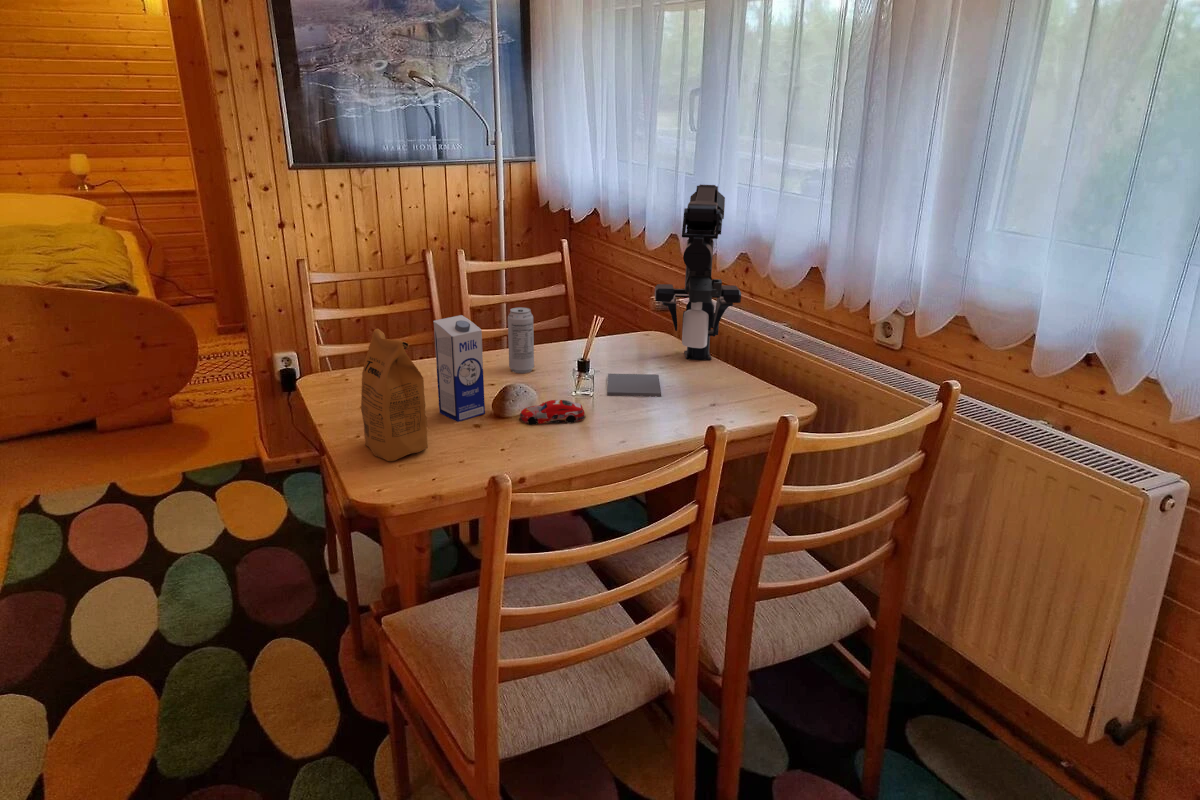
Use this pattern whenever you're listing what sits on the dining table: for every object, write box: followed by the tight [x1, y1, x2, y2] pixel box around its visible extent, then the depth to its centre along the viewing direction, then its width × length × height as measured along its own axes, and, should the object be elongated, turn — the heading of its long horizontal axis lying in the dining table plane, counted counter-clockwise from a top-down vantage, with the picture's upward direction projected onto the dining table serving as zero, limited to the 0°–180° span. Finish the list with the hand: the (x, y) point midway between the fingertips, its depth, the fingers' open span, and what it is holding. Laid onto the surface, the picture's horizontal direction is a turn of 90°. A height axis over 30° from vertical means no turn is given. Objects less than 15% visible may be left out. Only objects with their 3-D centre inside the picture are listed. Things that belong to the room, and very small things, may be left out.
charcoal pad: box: [606, 373, 662, 398], centre depth 178 cm, size 13×12×1 cm
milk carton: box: [433, 314, 486, 423], centre depth 158 cm, size 7×7×20 cm
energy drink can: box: [507, 306, 535, 374], centre depth 185 cm, size 6×6×15 cm
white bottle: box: [681, 302, 709, 348], centre depth 174 cm, size 4×6×12 cm
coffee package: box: [360, 328, 429, 462], centre depth 140 cm, size 10×12×22 cm
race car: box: [519, 399, 585, 426], centre depth 158 cm, size 13×5×4 cm, turn 98°
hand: (695, 330), depth 175 cm, fingers closed on white bottle, 8 cm apart
